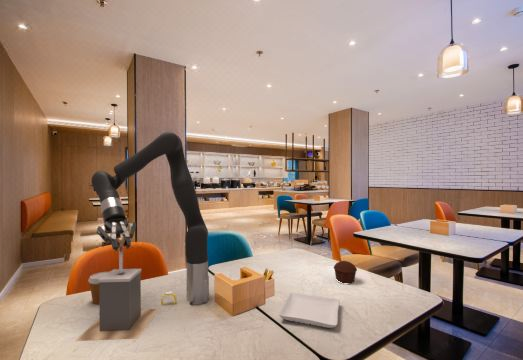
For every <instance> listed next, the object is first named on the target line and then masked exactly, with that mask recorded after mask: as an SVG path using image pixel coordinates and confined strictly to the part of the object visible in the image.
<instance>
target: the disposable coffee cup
mask: <svg viewBox="0 0 523 360" xmlns="http://www.w3.org/2000/svg"><path fill="white" fill-rule="evenodd" d="M109 272H110V271H102V272H97V273H94V274H91V275H90V276H89V278H88V283H89V289H90V293H91V301H92V304H93V305H99V282H98V279H100V278H101V277H103V276H104V275H106V274H107V273H109Z"/></svg>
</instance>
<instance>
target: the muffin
mask: <svg viewBox="0 0 523 360" xmlns="http://www.w3.org/2000/svg"><path fill="white" fill-rule="evenodd" d="M333 269H334V274H335V280H336V279H337V280H338V281H340V282H342V283H352V282H354V283H355V281H356V273H357V272H358V269H357V267H356V266H355V264H354V263H352V262H350V261H348V260H340V261H338V262H336V263H335V264H334V266H333ZM337 280H336V281H337ZM338 281H337V282H338ZM342 283H341V284H342Z"/></svg>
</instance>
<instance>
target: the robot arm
mask: <svg viewBox="0 0 523 360" xmlns="http://www.w3.org/2000/svg"><path fill="white" fill-rule="evenodd" d="M164 155H165V156H166V159H167V163H168V165H169V172H170V184H171V188H172V192H173V195H174V198H175V201H176V203H177V205H178V206H179V209H180V211H181V212H182V214H183V216H184V219H185V224H186V229H187V231H186V233H185V238H184V239H185V240H184V241H185V258H186V259H185V260H186V301H187V302H189V304H190V305H193V306H194V305H195V306H196V305H200V304H201V305H202V304H207V303H208V301H209V297H210V287H209V286H210V276H209V255H208V238H209V237H208V236H209V231H208V228H207V224H206V222H205V221H204V218H203V215H202V213H201V209H200V204H199V199H198V196H197V191H196V188H195V184H194V183H195V182H194V181H193V179H192V175H191V171H190V169H189V167H188V165H187V161H186V157H185V153H184V147H183V141H182V139H181V137H180V136H179V135H177V134H176V133H174V132H172V131H164V132H162V133H161V134H160V135H158V136H157V137H156V138H155V139H154V140H152V141H151V142H150V143H149V144H148V145H146V146H144V148H142V149H141V150H139V151H138V152H136V153H134V154H133V155H131V156H129V157H128V158H126V159H124V160H123V161H121V162H120V163H118V164H116V165H115V166H114V167H113V172H114V173H115V175H112V174H110V173H108V172H107V171H105V170H97V171H95V172H94V173H93V175H92V177H91V186H92V187H93V189H94V191H95V192H96V195H97V197H98V199H99V203H100V211H101V212H100V213H101V216H102V220H103V222H104V223H103V225H102V226H101V225H100V226H99V225H98V226H97V228H96V233H97V235H99V237H101V239H102V240H103V241H104V243H110V245H111V247H112V250H114V252H117V251H119V248H118V244H117V240H116V236H117V235H118V234H119V235H121V237H125V238H126V246H125V248H126V250H129V249H130V248H131V245H132V242H131V240H132V239H133V238H134V235H135V232H136V227H137V222H133V223H131V222H129V221H128V220H127V217H126V212H125V210H124V209H125V208H124V206H123V203H122V202H121V198H120V195H119V192H118V189H119V188H120V187H121V186H122V184H124V183H125V182H126V181H127V180H128V179H129V178H131V177H132V176H134V175H135V174H137V173H138V172H140V171H142V169H144V168H146V166H148V165H149V164H150V163H152V161H154V160H155V159H157V158H159V157H161V156H164ZM128 228H129V230H130V233H129V232H128ZM106 231H107V232H108V233H109V234H110V235H109V234H108V233H107V232H106Z"/></svg>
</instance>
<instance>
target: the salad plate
mask: <svg viewBox="0 0 523 360" xmlns="http://www.w3.org/2000/svg"><path fill="white" fill-rule="evenodd" d="M340 302H341V301H340V299H337V298H330V297H323V296H319V295H311V294H304V293H297V292H291V293H289V294H288V297H287V298H286V300H285V302H284V304H283V305H282V307H281V309H280V311H279V312H278V316H279V317H280V318H281V319H283V320H287V321H291V322H293V321H295V322H294V323H298V322H300V323H299V324H303V323H305V324H304V325H309V324H311V325H310V326H315V325H316V326H317V327H321V326H322V327H323V328H328V329H329V328H330V329H333V328H335V327H337V326H338V322H339V308H340ZM316 326H315V327H316Z"/></svg>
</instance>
